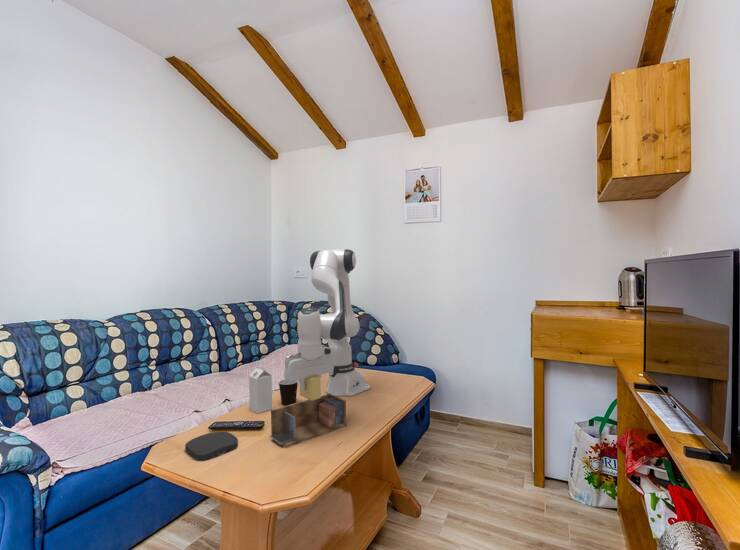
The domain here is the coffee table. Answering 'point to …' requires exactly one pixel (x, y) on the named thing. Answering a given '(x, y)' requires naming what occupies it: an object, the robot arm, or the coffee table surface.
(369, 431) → the coffee table surface
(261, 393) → the milk carton
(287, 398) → the coffee mug
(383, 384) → the coffee table surface
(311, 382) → the book
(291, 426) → the bookend
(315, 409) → the shelf
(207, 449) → the media streaming box
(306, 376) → the robot arm
